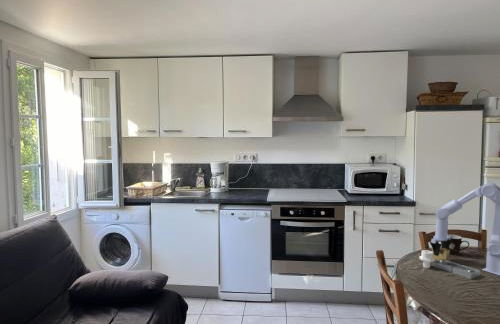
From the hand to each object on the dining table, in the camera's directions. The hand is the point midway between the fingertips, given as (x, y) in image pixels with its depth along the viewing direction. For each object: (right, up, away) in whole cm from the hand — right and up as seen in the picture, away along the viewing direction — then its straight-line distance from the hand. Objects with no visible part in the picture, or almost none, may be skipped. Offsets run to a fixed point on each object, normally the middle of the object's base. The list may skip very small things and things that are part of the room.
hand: (440, 254), depth 189 cm
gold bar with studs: (0, -3, 0) cm, 3 cm away
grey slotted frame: (0, -4, -15) cm, 16 cm away
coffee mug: (+13, -3, +9) cm, 16 cm away
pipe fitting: (-12, -4, -10) cm, 16 cm away
